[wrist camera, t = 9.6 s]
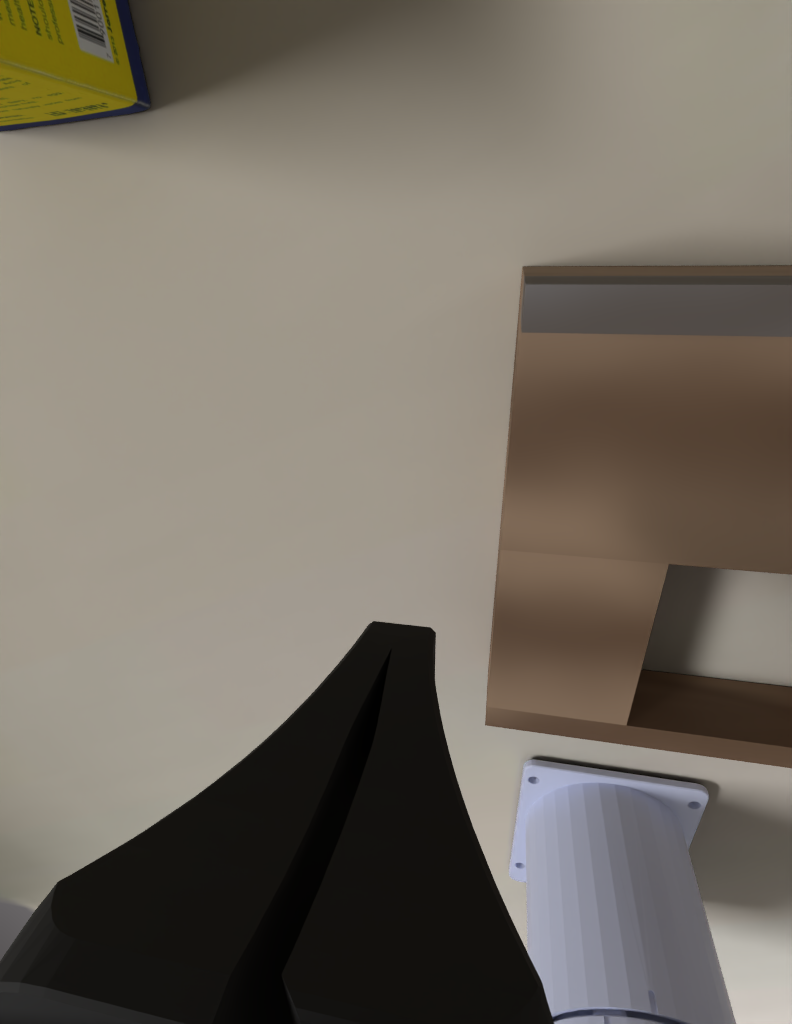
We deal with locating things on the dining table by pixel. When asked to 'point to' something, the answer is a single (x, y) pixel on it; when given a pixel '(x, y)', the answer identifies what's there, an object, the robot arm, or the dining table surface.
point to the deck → (640, 498)
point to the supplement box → (68, 62)
